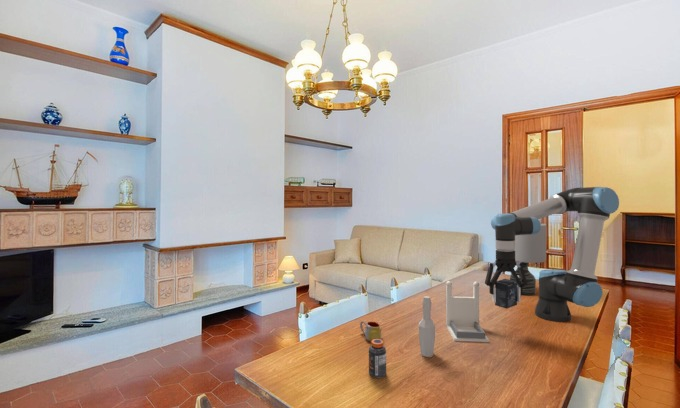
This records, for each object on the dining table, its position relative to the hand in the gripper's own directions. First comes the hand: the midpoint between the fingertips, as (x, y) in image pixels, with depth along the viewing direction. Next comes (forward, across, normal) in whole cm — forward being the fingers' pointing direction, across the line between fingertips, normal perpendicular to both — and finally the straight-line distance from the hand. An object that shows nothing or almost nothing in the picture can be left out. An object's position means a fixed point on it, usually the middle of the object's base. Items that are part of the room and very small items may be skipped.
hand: (506, 301), depth 140 cm
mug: (+14, +59, +7) cm, 61 cm away
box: (+2, 0, 0) cm, 2 cm away
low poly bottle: (+14, +37, +20) cm, 44 cm away
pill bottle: (+13, +56, +36) cm, 67 cm away
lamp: (+16, -34, -65) cm, 75 cm away
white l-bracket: (+14, +17, 0) cm, 22 cm away
